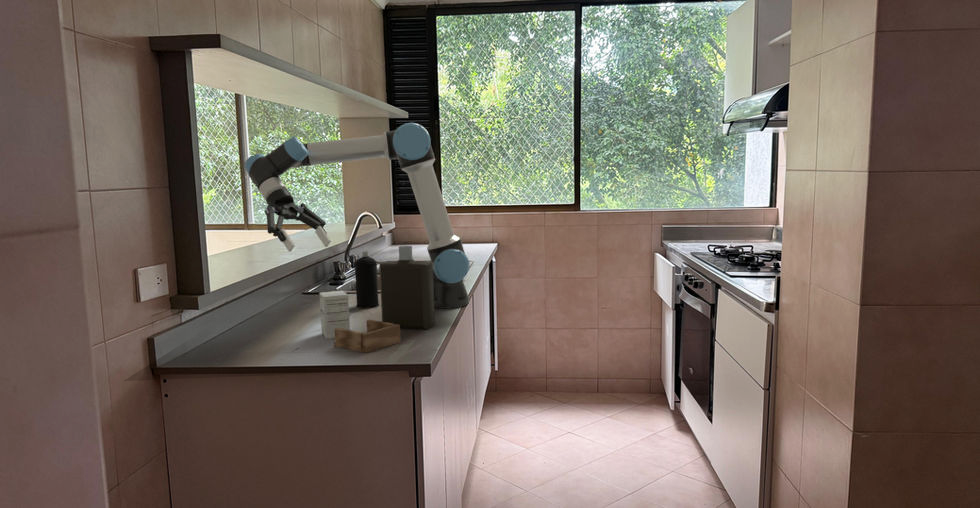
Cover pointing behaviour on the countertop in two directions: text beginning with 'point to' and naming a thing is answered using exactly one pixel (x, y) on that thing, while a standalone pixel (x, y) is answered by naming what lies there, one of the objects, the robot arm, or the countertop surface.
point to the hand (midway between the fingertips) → (310, 246)
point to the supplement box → (334, 312)
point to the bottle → (407, 291)
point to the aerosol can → (366, 282)
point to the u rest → (368, 337)
